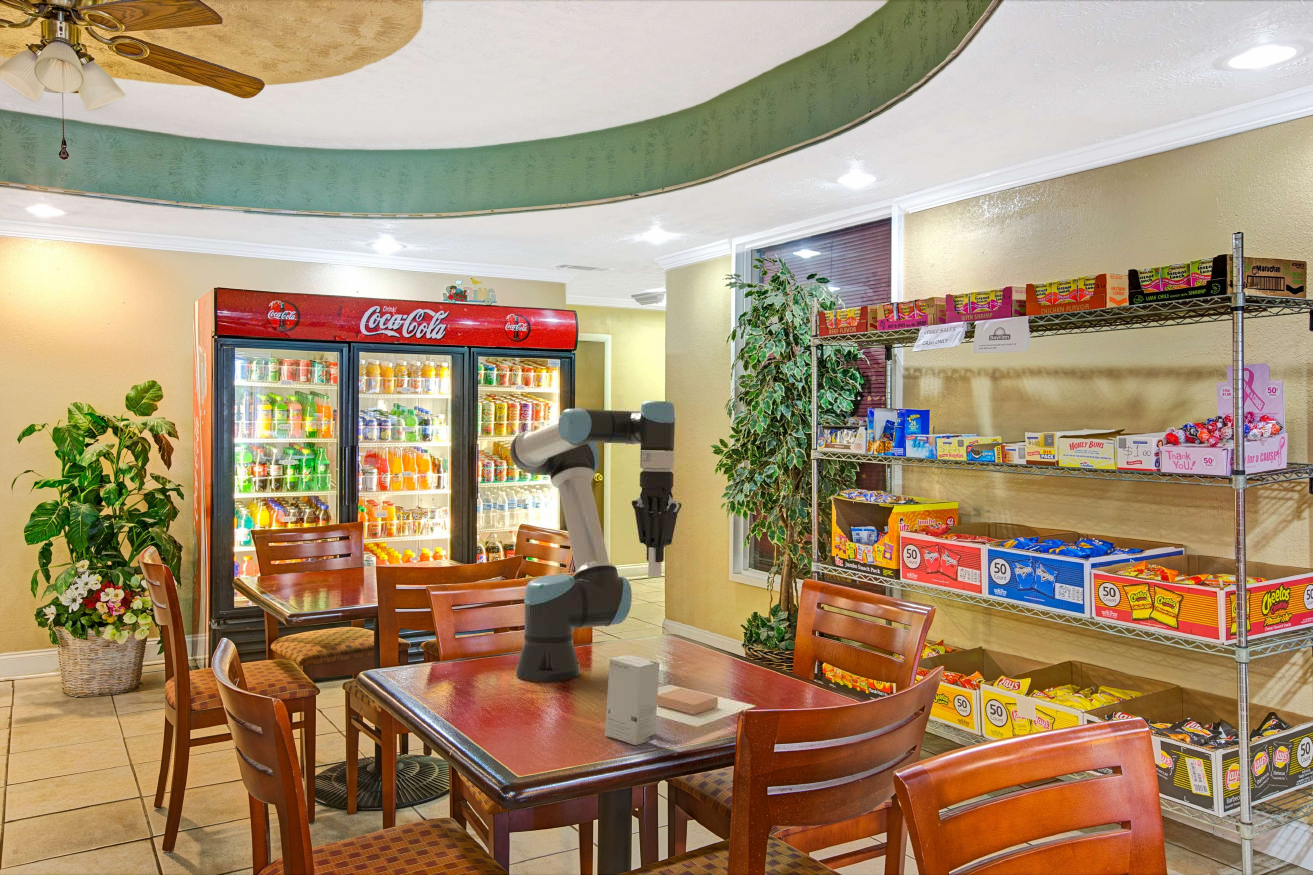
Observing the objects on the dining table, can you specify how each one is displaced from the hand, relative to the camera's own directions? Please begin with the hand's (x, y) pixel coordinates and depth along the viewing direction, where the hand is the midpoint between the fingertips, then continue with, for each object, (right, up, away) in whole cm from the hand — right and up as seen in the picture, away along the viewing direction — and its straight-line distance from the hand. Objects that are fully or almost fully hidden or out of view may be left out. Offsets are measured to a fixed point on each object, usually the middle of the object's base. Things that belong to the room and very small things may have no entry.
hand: (654, 576), depth 198 cm
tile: (+3, -24, -9) cm, 26 cm away
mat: (+6, -26, -10) cm, 29 cm away
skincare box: (-4, -26, -30) cm, 40 cm away
